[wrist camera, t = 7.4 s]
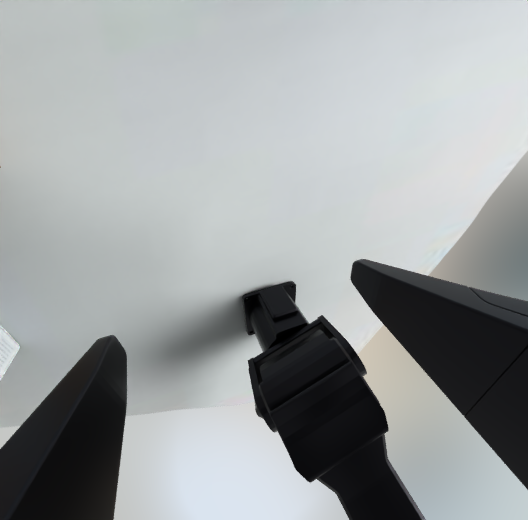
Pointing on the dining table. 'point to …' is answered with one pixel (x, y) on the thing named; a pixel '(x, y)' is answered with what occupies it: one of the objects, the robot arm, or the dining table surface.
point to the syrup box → (6, 350)
